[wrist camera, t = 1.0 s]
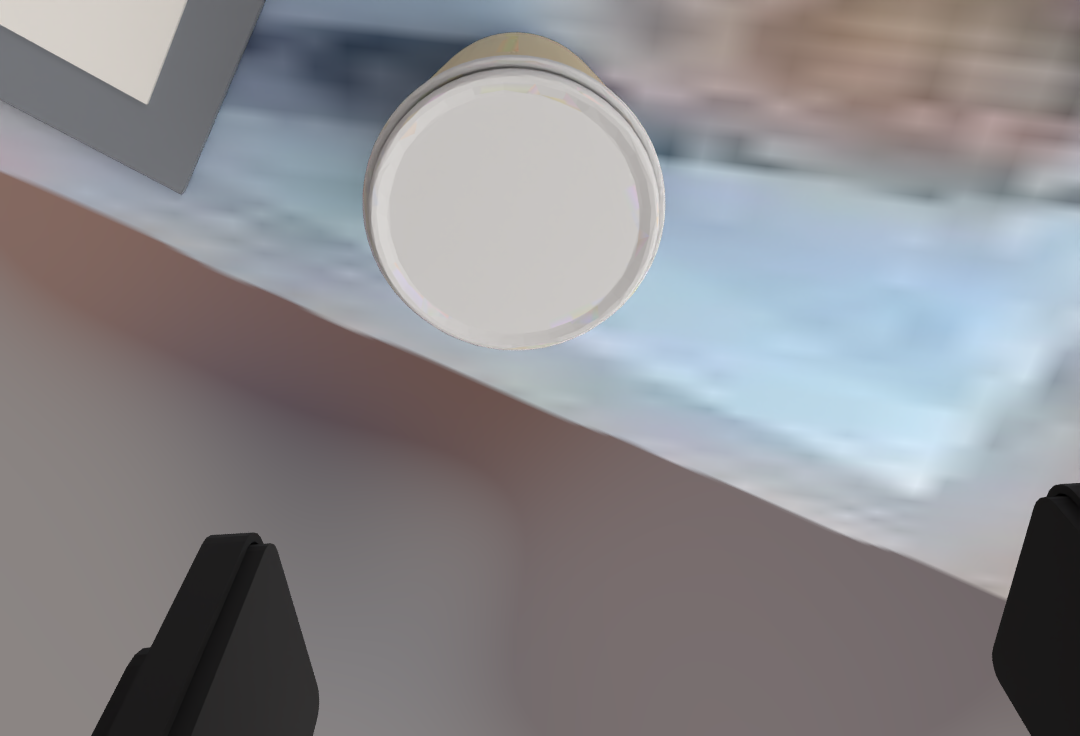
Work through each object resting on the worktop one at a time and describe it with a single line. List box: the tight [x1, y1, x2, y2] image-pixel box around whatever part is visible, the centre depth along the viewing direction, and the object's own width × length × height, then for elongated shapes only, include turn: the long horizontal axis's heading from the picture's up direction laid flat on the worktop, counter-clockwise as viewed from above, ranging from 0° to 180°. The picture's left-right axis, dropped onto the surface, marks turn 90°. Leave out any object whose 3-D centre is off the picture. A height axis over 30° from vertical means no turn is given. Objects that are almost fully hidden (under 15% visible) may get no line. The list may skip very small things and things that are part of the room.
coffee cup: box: [363, 32, 665, 350], centre depth 30 cm, size 9×9×12 cm
